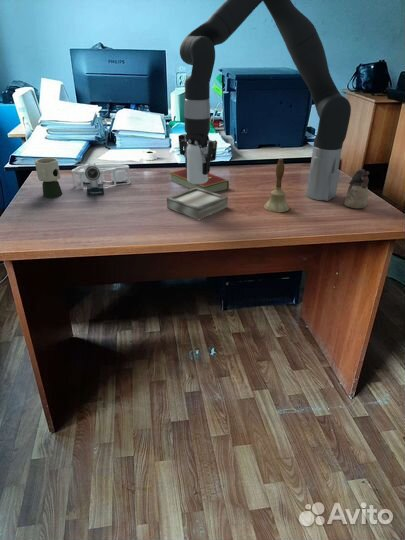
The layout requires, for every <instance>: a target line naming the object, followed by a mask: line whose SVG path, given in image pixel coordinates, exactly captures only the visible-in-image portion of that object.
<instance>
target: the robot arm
mask: <svg viewBox="0 0 405 540" xmlns="http://www.w3.org/2000/svg"><path fill="white" fill-rule="evenodd" d="M261 3H263V4H264V5H265V6H266V9H267V11H268V12H269V13H270V15H271V17H272V20H273V21H274V24H275V25H276V28H277V30H278V32H279V33H280V36H281V37H282V39H283V40H282V41H283V42H284V44H285V47H286V50H287V51H288V53H289V55H290V57H291V60H292V62H293V64H294V66H295V67H296V69H297V71H298V73H299V74H300V76H301V78H302V79H303V81H304V82H305V84H306V86H307V87H308V90H309V92H310V93H309V94H310V95H311V98H312V100H313V103H314V106H315V107H314V108H315V110H316V114H317V116H318V118H319V120H318V121H319V122H318V127H317V133H316V136H315V137H314V140H313V145H312V146H313V147H312V153H311V161H310V167H309V173H308V174H309V175H308V180H307V187H306V194H305V195H306V196H307V197H308V198H310V199H312V200H315V201H316V200H317V201H326V202H329V201H331V200H332V199H335V197H336V196H337V195H336V194H337V190H338V186H339V185H338V184H339V180H340V179H339V178H340V173H341V170H340V169H339V166H340V162H341V161H340V160H341V155H342V150H343V146H344V142H345V139H346V138H347V133H348V128H349V124H350V121H351V120H350V119H351V113H352V107H351V103H350V101H349V100H348V99H347V98H346V97H345V96H343V95H342V93H340V91H339V89H338V88H337V86H336V84H335V82H334V80H333V78H332V76H331V75H332V74H331V73H330V69H329V64H328V60H327V55H326V52H325V47H324V44H323V42H322V40H321V37H320V35H319V33H318V30H317V28H316V26H315V25H314V24H313V22H312V21H311V20H310V19H309V18H308V17H307V16H305V15H304V13H302V12H301V11H300V10H299V9H298V8H297V7H296V6H295V4H293V2H292V0H226V1H224V2H223V3H222V4H221V5H220V7H218V8H217V9H216V10H215V12H214V13H212V14H211V16H210V17H208V19H207V20H206V21H205V22H204V23H201V24H200V25H199V26H197V27H196V28H194V29H193V30H192V31H191V32H190V33H188V34H187V35H186V36H185V38H183V39H182V41H181V43H180V45H179V56H180V58H181V60H182V62H184V63H185V64H186V65H190V66H192V67H191V75H188V76H187V77H186V78H185V81H184V107H183V109H184V111H183V112H184V114H183V115H184V116H183V117H184V132H185V133H182V134H179V135H178V145H179V147H178V148H179V155H181V156H183V157H184V159H185V161H184V163H185V164H184V165H185V169H186V170H187V147H188V143H189V144H195V145H198V146H199V145H201V146H199V149H200V155H201V156H202V160H203V174H204V175H206V174H208V173H210V172H211V162H213V161H216V159H217V148H218V140H216V139H215V140H211V139H210V137H209V134H210V131H211V103H210V101H211V100H210V98H211V97H210V92H211V91H210V89H211V88H210V86H211V85H210V82H211V79H212V76H213V71H214V67H215V60H216V48H215V46H218V45H221V44H224V43H225V42H226V41H227V40H228V39H229V38H230V37H231V36H232V35H233V34H234V33H235V32H236V31H237V30H238V29H239V27H240V26H242V24H243V23H244V22H245V21H246V20H247V18H248V17H249V16H250V15H251V14H252V13H253V12H254V11H255V9H257V7H259V5H261ZM201 147H202V148H204V147H207V151H205V152H203V151H202V149H201ZM205 154H207V158H206V157H205Z"/></svg>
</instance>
